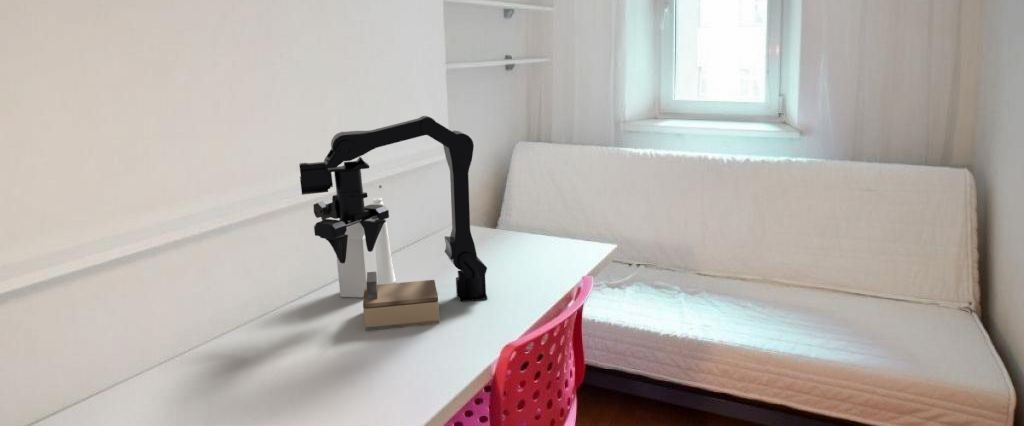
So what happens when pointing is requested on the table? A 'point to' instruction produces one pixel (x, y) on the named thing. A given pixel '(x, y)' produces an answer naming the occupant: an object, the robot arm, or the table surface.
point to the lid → (397, 292)
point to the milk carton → (355, 263)
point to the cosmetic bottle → (383, 253)
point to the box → (401, 315)
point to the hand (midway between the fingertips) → (356, 257)
